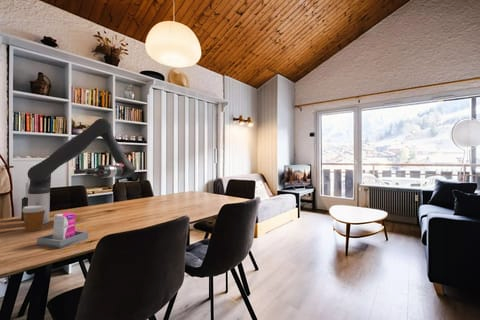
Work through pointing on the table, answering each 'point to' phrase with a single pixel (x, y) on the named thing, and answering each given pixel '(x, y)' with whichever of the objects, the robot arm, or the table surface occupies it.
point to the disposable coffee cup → (33, 217)
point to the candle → (25, 199)
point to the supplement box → (64, 226)
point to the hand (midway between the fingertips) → (80, 172)
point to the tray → (51, 242)
